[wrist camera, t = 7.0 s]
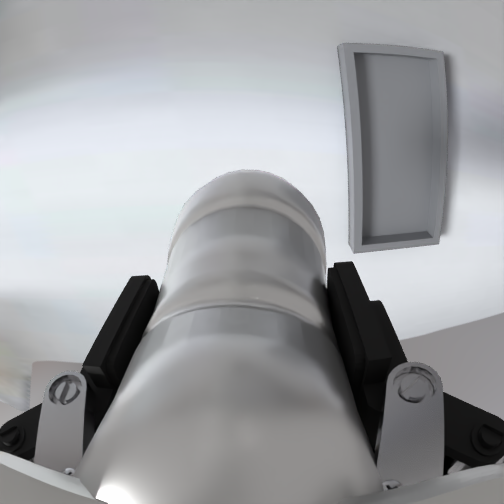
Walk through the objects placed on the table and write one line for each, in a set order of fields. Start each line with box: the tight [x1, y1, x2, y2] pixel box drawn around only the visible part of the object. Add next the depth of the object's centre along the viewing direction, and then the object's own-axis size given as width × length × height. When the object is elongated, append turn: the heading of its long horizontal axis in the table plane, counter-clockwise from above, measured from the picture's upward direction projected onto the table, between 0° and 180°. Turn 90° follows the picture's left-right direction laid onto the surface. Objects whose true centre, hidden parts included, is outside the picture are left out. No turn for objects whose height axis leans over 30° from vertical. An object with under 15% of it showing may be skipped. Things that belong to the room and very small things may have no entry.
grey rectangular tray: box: [337, 43, 448, 254], centre depth 32 cm, size 24×12×3 cm, turn 8°
